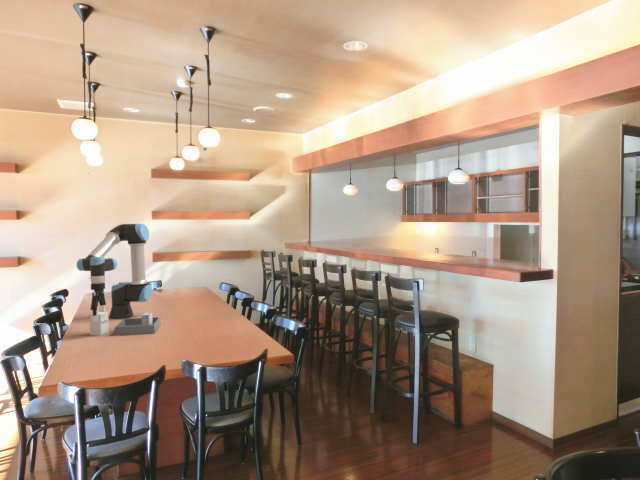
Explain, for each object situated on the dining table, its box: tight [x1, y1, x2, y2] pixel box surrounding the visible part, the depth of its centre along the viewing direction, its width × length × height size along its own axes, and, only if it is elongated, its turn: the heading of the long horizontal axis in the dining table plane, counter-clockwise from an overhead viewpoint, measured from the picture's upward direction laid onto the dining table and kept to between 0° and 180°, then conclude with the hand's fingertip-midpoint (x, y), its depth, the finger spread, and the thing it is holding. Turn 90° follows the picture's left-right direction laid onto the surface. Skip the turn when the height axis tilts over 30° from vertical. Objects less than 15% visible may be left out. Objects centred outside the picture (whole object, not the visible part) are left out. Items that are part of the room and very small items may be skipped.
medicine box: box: [141, 312, 153, 325], centre depth 272 cm, size 8×4×9 cm, turn 6°
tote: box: [114, 316, 162, 337], centre depth 271 cm, size 22×22×5 cm
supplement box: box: [89, 311, 110, 337], centre depth 262 cm, size 7×7×13 cm
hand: (98, 318), depth 262 cm, fingers open, 13 cm apart
